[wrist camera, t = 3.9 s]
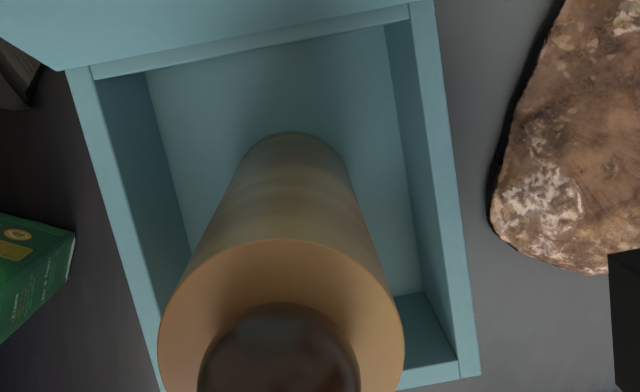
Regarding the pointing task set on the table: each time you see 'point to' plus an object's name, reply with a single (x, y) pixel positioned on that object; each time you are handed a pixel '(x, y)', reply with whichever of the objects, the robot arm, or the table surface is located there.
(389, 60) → the chest
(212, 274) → the pepper mill
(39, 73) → the dark sector wedge
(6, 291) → the coffee box
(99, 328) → the table surface
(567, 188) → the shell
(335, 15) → the lid
